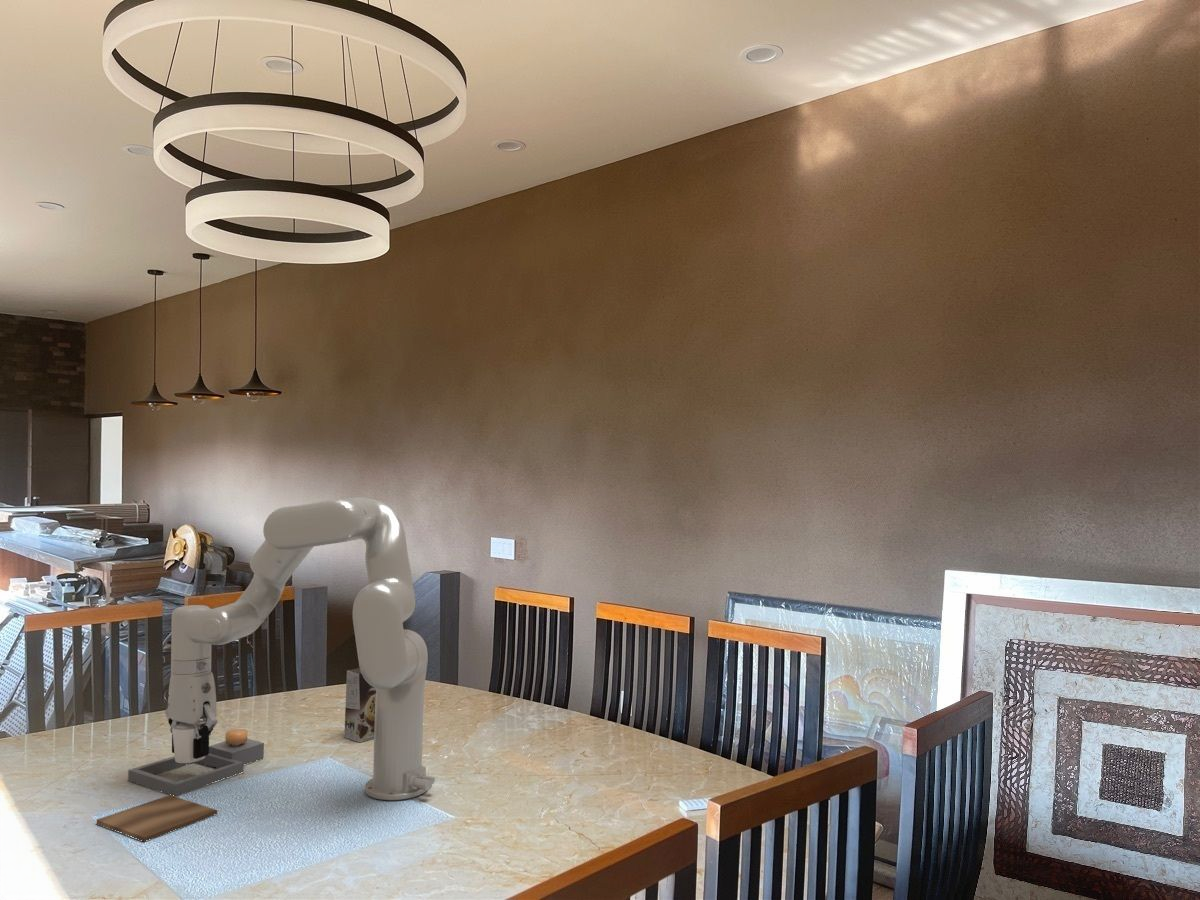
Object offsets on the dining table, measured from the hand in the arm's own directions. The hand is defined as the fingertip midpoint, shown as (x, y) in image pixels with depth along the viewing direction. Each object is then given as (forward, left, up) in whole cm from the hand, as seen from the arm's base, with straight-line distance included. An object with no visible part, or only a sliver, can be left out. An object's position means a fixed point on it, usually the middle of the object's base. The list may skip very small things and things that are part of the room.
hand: (190, 753), depth 175 cm
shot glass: (0, 0, -1) cm, 1 cm away
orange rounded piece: (+1, -11, -3) cm, 12 cm away
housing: (+1, -4, -5) cm, 6 cm away
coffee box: (-10, -40, -5) cm, 41 cm away
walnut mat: (-14, +16, -5) cm, 22 cm away
